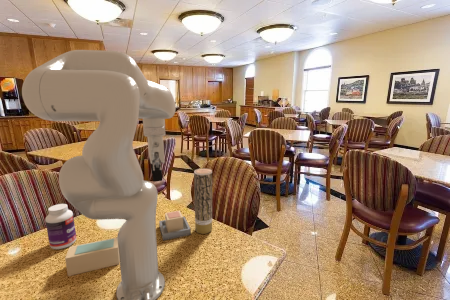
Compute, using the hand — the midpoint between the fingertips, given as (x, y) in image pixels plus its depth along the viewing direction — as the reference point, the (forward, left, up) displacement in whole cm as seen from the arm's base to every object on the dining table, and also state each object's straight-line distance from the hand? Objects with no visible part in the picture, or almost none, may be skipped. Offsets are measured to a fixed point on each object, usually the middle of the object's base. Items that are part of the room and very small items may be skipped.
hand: (156, 176), depth 86 cm
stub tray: (-1, -6, -23) cm, 24 cm away
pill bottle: (+5, +33, -23) cm, 41 cm away
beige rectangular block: (-11, +21, -23) cm, 33 cm away
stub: (-1, -6, -22) cm, 23 cm away
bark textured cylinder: (-5, -17, -23) cm, 29 cm away
